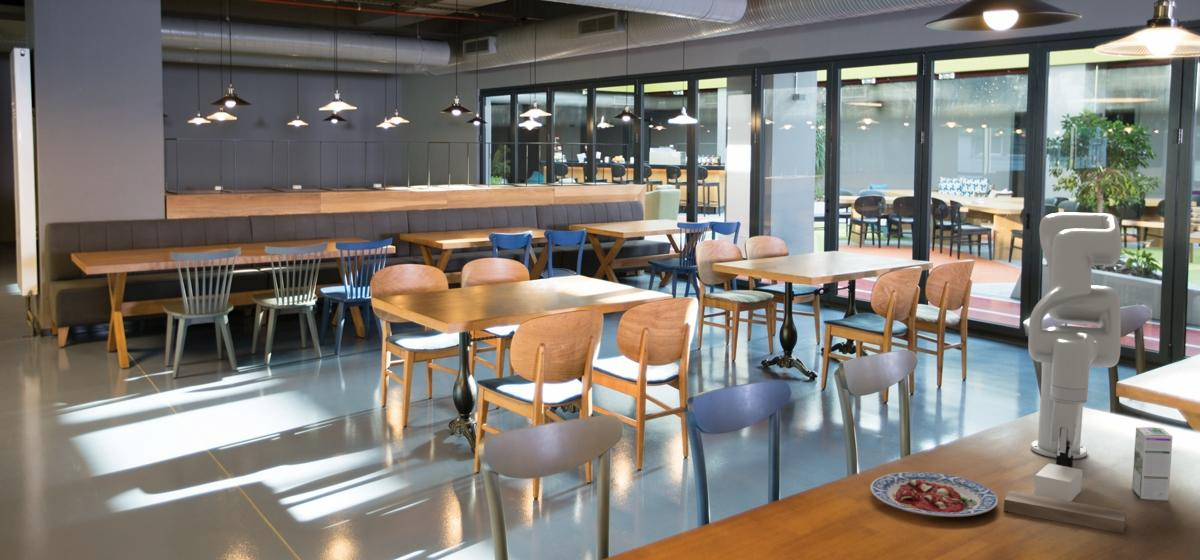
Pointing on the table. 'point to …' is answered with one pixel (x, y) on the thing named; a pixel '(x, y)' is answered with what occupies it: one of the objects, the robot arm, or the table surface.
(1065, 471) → the block
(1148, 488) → the syrup box
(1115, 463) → the table surface
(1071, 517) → the plank
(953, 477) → the ceramic plate
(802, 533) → the table surface
